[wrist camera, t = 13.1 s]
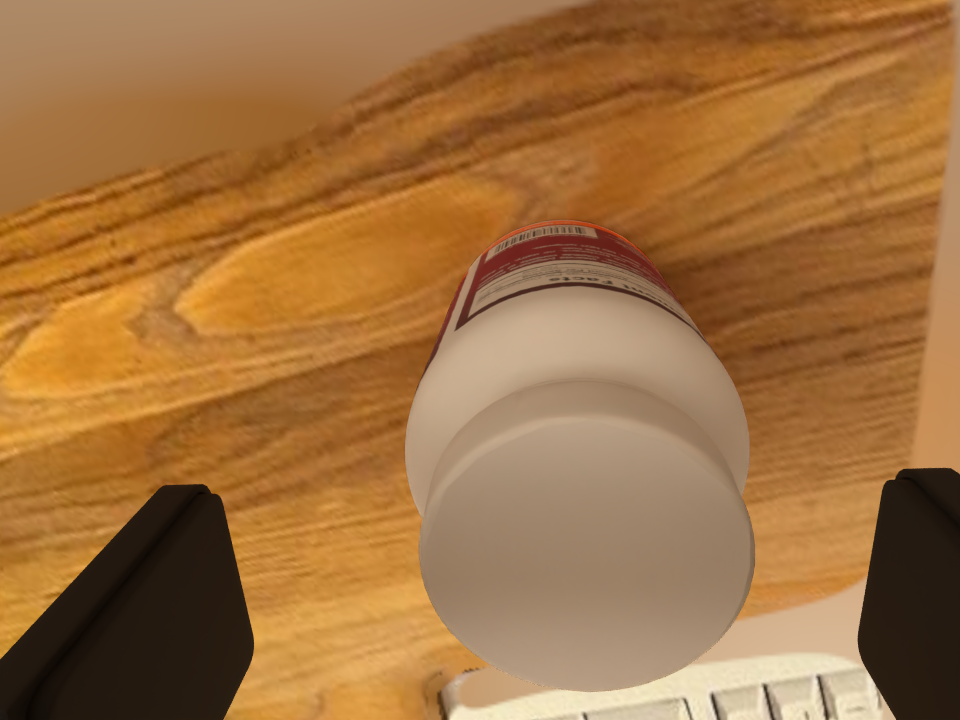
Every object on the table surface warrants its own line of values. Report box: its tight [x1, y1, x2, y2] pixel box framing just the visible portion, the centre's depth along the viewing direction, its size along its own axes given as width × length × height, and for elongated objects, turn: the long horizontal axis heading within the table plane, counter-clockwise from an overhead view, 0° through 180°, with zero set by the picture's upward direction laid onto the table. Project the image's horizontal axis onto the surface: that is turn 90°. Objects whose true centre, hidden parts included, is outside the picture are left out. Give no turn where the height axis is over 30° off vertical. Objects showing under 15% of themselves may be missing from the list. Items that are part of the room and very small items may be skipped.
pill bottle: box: [405, 220, 755, 692], centre depth 15 cm, size 6×6×11 cm
